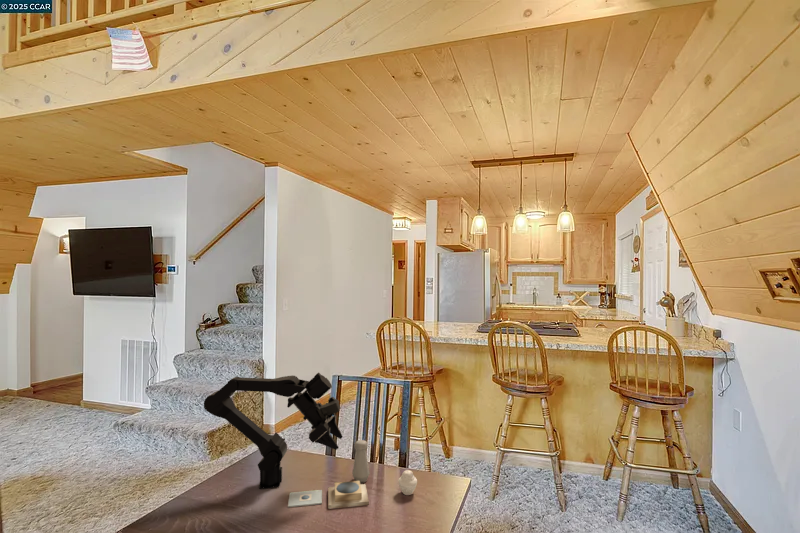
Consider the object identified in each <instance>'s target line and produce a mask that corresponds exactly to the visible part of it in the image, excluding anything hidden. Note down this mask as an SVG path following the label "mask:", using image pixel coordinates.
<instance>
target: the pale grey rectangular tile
mask: <svg viewBox="0 0 800 533" xmlns="http://www.w3.org/2000/svg"><path fill="white" fill-rule="evenodd" d="M322 504H323V490H322V489H316V490H307V491H306V490H305V491H295V492H294V491H293V492H289V496H288V502H287V508H297V507H305V506H306V507H307V506H315V505H316V506H317V505H322Z"/></svg>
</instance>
